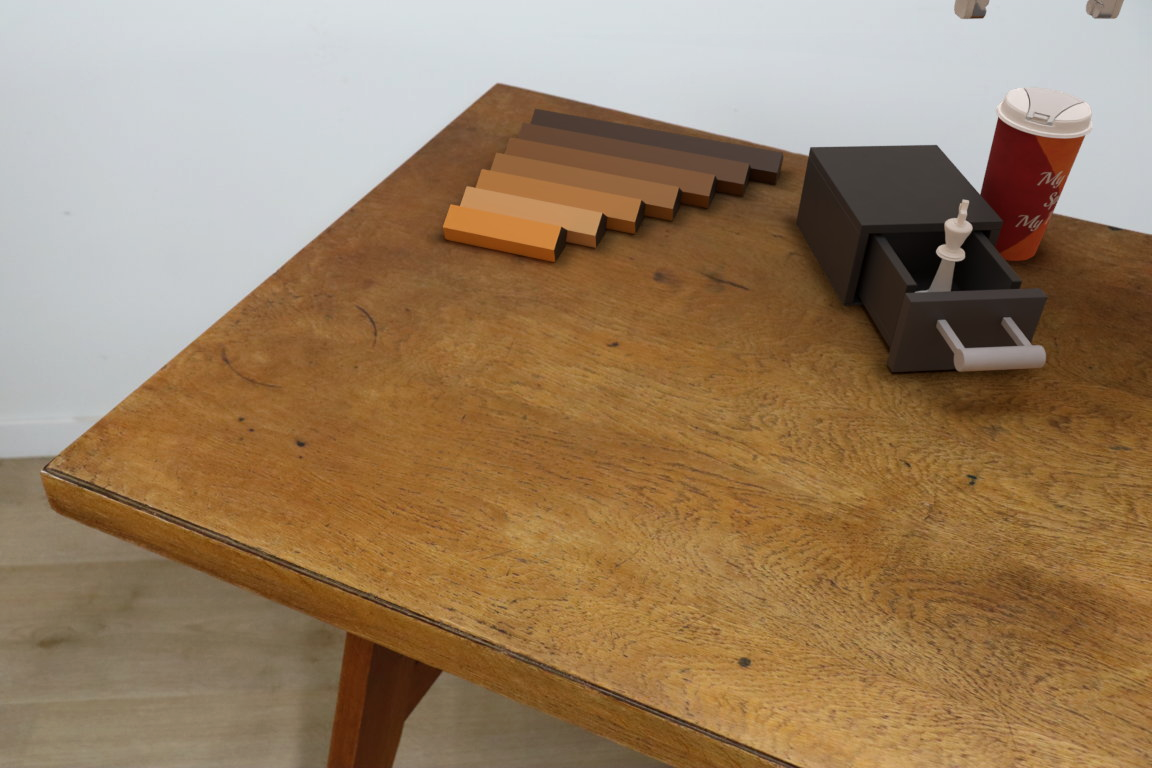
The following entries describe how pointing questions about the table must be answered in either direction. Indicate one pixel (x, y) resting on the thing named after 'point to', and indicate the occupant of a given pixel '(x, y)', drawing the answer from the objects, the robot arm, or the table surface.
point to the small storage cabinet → (880, 203)
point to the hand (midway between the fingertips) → (1034, 16)
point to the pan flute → (595, 183)
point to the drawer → (949, 305)
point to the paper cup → (1032, 163)
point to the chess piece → (951, 249)
